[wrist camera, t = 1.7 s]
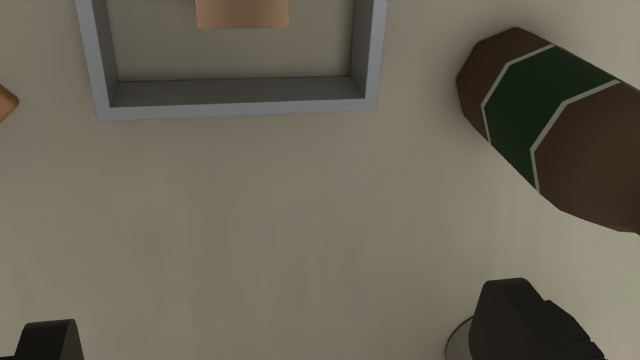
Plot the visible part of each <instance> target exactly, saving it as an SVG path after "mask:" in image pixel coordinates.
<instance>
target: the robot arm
mask: <svg viewBox="0 0 640 360" xmlns="http://www.w3.org/2000/svg"><path fill="white" fill-rule="evenodd" d="M446 357H447V360H606V359H605V358H604V354H603V353H602V351H601V350H600V349H599V348H598V347H597V345H596V344H595V343H594V342H591V341H590V337H589V336H588V334H587V333H586V332H585V331H584V330H583V328H582V327H581V326H580V325H579V323H578V322H577V321H576V320H575V319H574V317H572V316H571V315H570V314H568V313H567V312H566V311H564V310H563V309H561V308H560V307H559V306H557V305H556V304H555V303H553V302H552V301H550V300H546V301H544V300H543V299H542V298H541V296H540V295H539V294H538V293H537V291H536V290H535V289H534V287H533V286H532V285H531V284H530V283H529V281H527V280H526V279H524V278H511V279H501V280H490V281H487V282H486V283H485V284H484V285H483V288H482V291H481V294H480V297H479V300H478V304H477V307H476V310H475V313H474V316H473V318H472V319H470V320H469V321H467V322H466V323H465V324H463V325H462V326H461V327H460V328H459V329H458V330H457V331H456V332H455V333H454V334H453V336H452V337H451V339H450V340H449V343H448V345H447V348H446ZM0 360H84V356H83V352H82V347H81V343H80V338H79V334H78V329H77V325H76V322H75V320H74V319H65V320H55V321H44V322H34V323H27V324H26V325H25V327H24V328H23V331H22V334H21V337H20V340H19V343H18V346H17V349H16V352H15V355H14V356H7V357H0ZM607 360H608V359H607Z"/></svg>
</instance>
